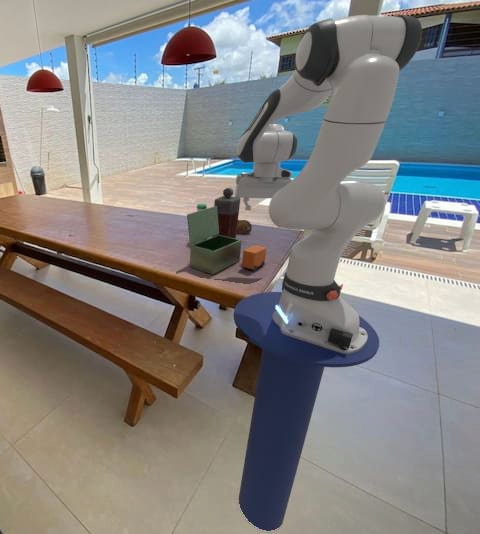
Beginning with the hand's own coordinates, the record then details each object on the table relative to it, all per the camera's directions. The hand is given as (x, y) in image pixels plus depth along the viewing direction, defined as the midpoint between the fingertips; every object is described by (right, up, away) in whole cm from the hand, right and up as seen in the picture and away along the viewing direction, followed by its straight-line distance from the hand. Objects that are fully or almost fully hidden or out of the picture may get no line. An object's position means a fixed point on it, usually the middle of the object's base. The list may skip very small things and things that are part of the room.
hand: (260, 210), depth 117 cm
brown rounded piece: (+10, -4, +51) cm, 52 cm away
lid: (-18, -3, +14) cm, 23 cm away
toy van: (+2, -22, +11) cm, 24 cm away
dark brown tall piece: (-1, -10, +39) cm, 40 cm away
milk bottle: (-12, -9, +42) cm, 45 cm away
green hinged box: (-13, -20, +16) cm, 29 cm away
